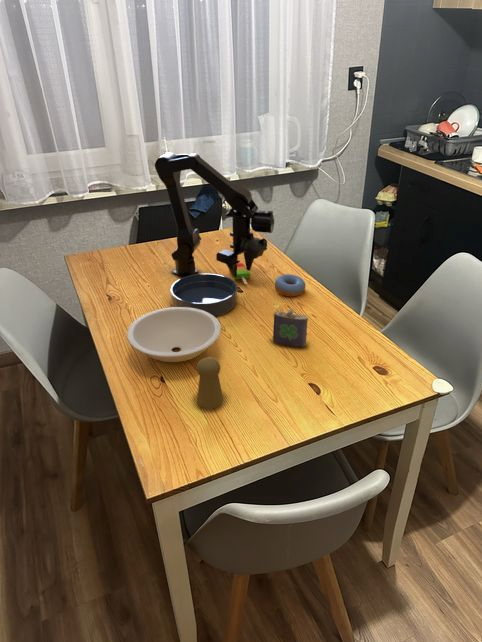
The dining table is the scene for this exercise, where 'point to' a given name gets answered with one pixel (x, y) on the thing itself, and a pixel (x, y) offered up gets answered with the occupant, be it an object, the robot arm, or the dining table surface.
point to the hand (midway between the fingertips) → (241, 273)
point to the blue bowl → (205, 293)
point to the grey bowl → (174, 333)
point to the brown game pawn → (209, 384)
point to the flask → (290, 329)
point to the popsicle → (242, 273)
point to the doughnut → (289, 285)
